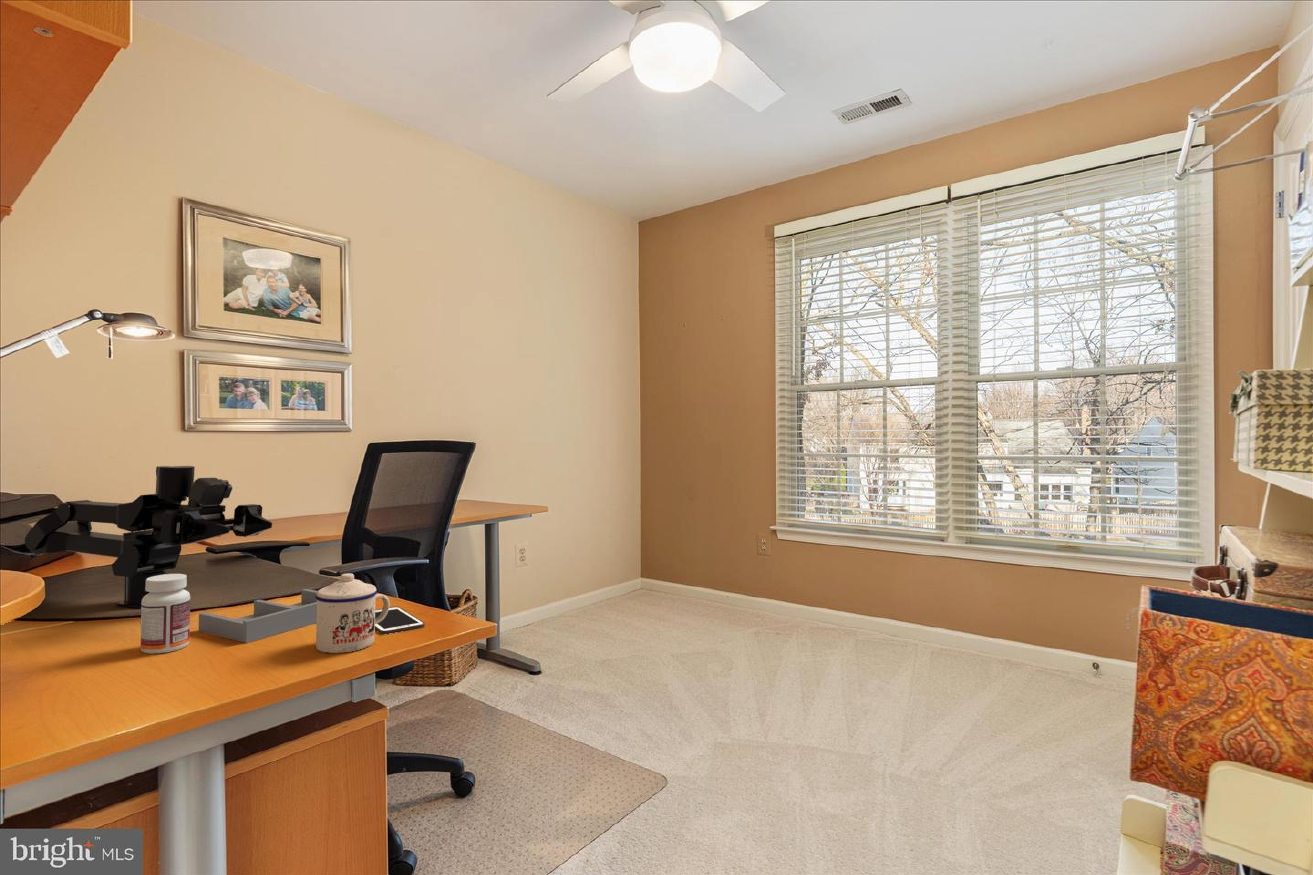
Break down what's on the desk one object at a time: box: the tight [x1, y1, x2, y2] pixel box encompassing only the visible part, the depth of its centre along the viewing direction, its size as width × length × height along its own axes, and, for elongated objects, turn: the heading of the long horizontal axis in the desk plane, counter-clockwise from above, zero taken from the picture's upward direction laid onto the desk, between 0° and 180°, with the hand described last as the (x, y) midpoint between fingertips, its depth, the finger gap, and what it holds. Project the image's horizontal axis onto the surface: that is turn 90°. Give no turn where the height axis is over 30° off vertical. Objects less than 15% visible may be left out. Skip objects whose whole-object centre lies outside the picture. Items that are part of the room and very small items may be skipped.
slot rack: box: [198, 588, 319, 644], centre depth 114 cm, size 13×20×4 cm, turn 156°
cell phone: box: [375, 606, 425, 635], centre depth 116 cm, size 8×15×1 cm, turn 42°
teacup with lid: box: [315, 573, 391, 654], centre depth 104 cm, size 12×9×12 cm
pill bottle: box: [140, 573, 191, 655], centre depth 99 cm, size 6×6×11 cm
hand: (250, 527), depth 117 cm, fingers open, 9 cm apart
